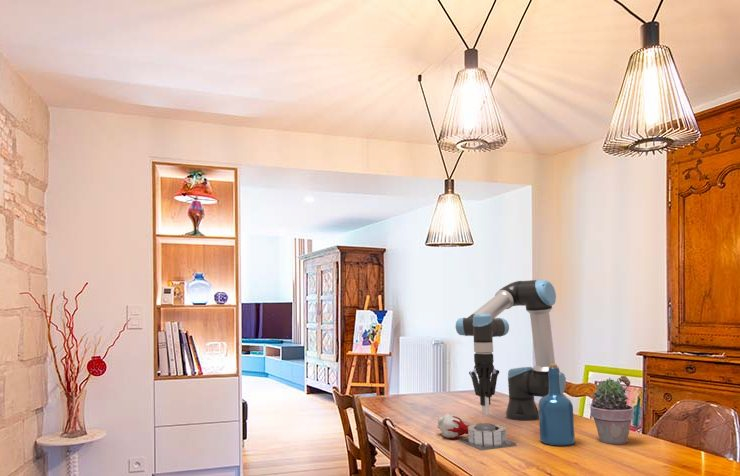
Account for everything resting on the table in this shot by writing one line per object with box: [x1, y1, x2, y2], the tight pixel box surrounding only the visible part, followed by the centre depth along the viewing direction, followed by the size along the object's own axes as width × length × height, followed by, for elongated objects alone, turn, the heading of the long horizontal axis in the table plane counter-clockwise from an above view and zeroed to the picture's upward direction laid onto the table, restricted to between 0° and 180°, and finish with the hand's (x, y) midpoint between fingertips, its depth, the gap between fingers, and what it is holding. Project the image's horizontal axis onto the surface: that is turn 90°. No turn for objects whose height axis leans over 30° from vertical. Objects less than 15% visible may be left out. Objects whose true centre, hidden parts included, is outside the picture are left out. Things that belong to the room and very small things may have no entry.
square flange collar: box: [458, 423, 518, 451], centre depth 223 cm, size 16×16×6 cm
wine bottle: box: [538, 363, 576, 447], centre depth 223 cm, size 14×13×30 cm
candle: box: [437, 412, 470, 440], centre depth 233 cm, size 9×11×15 cm
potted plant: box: [586, 375, 634, 445], centre depth 223 cm, size 18×20×25 cm
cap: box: [475, 422, 496, 431], centre depth 223 cm, size 8×8×6 cm
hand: (485, 413), depth 224 cm, fingers closed
